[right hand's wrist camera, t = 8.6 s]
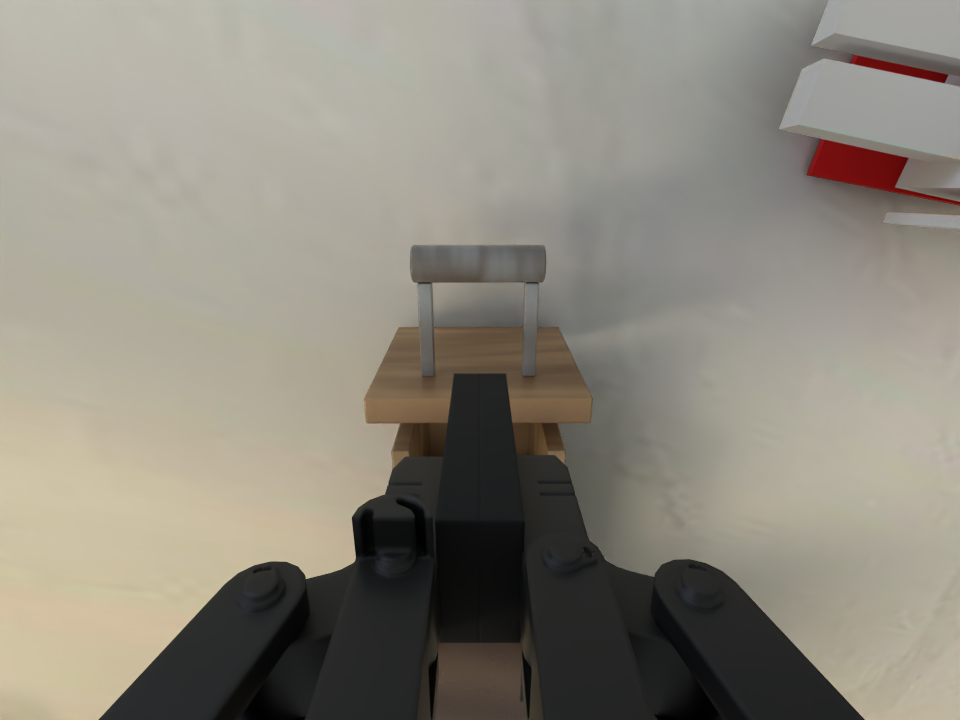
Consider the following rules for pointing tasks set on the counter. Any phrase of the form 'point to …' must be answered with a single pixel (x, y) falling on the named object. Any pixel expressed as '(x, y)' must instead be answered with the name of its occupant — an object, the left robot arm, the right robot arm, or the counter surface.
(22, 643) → the counter surface
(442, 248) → the drawer
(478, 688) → the cabinet
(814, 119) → the toy
